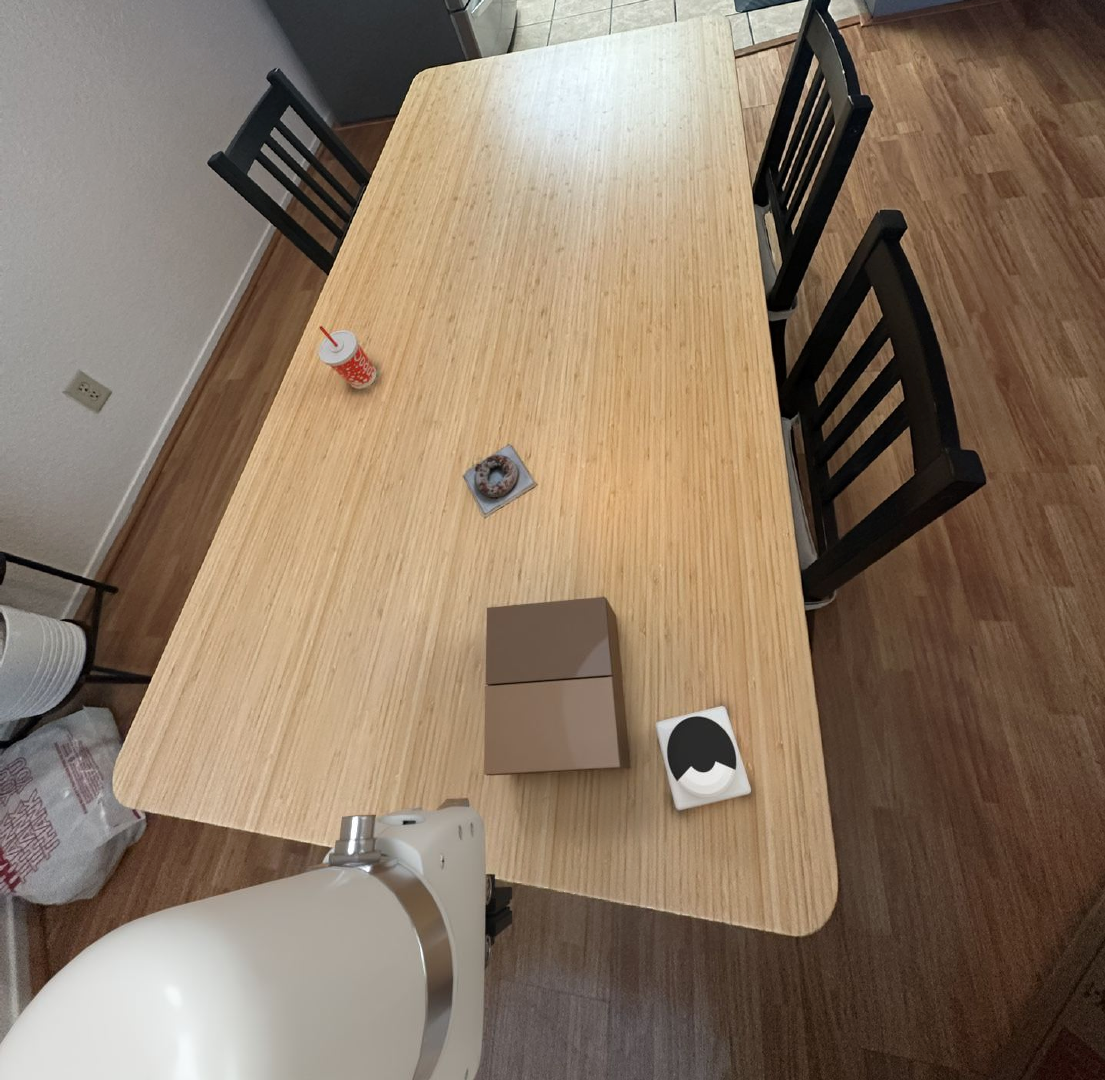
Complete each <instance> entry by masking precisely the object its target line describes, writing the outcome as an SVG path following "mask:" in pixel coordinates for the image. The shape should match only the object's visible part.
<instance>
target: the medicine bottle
mask: <svg viewBox="0 0 1105 1080" xmlns="http://www.w3.org/2000/svg"><path fill="white" fill-rule="evenodd" d="M654 727H655V731H656V735H657V739H658V743H659V747H660V752H661V755H662V759H663V764H664V768H665V772H666V776H667V780H668V784H669V787H670V791H671V795H672V799H673V803H674V807H675V809H676V810H677V811H683V810H688V809H691V808H696V807H699V806H704V805H708V804H712V803H717V802H720V801H721V802H722V801H725V800H729V799H734V798H738V797H742V796H746V795H749V794H750V793H751V792H752V788H751V785H750V781H749V778H748V775H747V772H746V769H745V765H744V763H743V759H742V755H741V753H740V749H739V746H738V742H737V740H736V736H735V733H734V730H733V727H732V724H731V721H730V717H729V713H728V711H727V708H726V707H725V706H723V705H719V706H715V707H712V708H707V709H703V710H698V711H694V712H691V713H687V714H683V715H678V716H675V717H671V718H667V719H662V720H657V721H656V722H655V724H654Z"/></svg>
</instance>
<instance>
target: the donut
mask: <svg viewBox="0 0 1105 1080" xmlns="http://www.w3.org/2000/svg"><path fill="white" fill-rule="evenodd" d="M462 478H463V479H464V482H465V484H466V486H467V489H468V490H469V491H470V493H471V495H472V498H473V499H474V502H475V503H476V505H477V508H478V509H479V511H480V513H481V515H482V517H483V518H484V519H485V518H487V517H488V516H490V515H492V514H493V513H495V512H496V511H498V510H499V509H501V508H503V507H505V506H506V505H508V504H509V503H510V502H513V501H514V500H516V499H517V498H519V497H520V496H522V495H523V494H525V493H526V492H528V491H530V490H531V489H533V488H534V487H536V486H538V483H537V482H536V481H535V479H534V477H533V476H532V474H531V472H530V471H529V470H528V467H527V466H526V465H525V463H524V462H523V459H522V458H521V457H520V456H519V454H518V452H517V451H516V449H515V448H514V446H513V445H512V444H507V445H505V446H503V447H502V448H500V450H497V451H495V452H494V453H493V454H491V455H489V456H488V457H486V458H484V459H482V460H481V461H479V462H478V463H477V462H476V464H475V465H473V466H471V467H470V468H468V469H467V470H466V471H465V473H463V475H462Z"/></svg>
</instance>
